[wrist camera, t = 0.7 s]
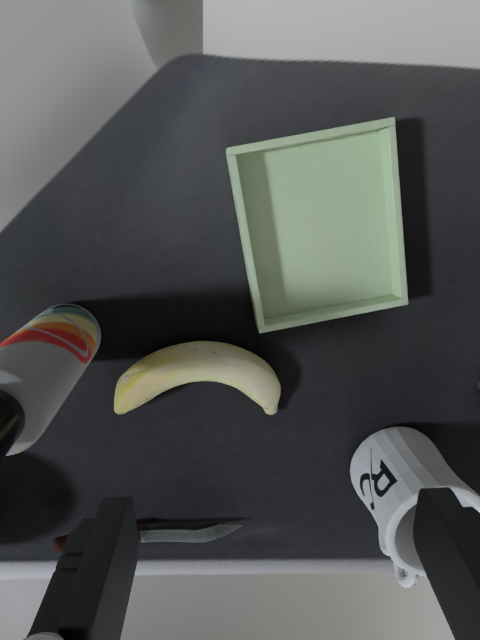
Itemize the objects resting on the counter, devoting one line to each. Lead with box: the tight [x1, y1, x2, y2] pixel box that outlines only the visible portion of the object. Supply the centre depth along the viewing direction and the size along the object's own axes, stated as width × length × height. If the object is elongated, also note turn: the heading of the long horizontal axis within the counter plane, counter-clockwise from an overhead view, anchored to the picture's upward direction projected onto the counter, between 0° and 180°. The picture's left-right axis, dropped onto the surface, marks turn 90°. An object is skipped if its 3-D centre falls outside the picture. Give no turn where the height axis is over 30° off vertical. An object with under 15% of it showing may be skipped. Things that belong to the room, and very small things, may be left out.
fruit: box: [114, 341, 281, 415], centre depth 40 cm, size 7×15×3 cm, turn 85°
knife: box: [53, 522, 241, 552], centre depth 45 cm, size 18×2×3 cm, turn 90°
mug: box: [350, 427, 480, 588], centre depth 42 cm, size 12×9×10 cm
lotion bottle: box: [0, 304, 101, 463], centre depth 30 cm, size 6×6×20 cm
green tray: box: [225, 117, 408, 333], centre depth 38 cm, size 15×13×2 cm
